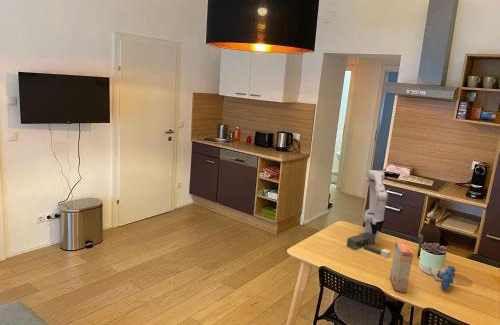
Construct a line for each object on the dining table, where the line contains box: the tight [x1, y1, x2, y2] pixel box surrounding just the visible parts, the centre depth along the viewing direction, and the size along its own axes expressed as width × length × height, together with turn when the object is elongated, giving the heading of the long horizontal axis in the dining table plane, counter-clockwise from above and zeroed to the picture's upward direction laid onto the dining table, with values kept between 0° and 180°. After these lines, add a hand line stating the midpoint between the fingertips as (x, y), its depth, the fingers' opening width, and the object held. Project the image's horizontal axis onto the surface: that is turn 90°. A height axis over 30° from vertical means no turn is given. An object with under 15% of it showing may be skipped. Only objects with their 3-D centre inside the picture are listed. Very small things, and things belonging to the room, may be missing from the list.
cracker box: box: [389, 239, 414, 293], centre depth 187 cm, size 14×6×21 cm, turn 168°
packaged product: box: [432, 262, 457, 285], centre depth 203 cm, size 18×5×10 cm
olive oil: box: [417, 216, 441, 259], centre depth 220 cm, size 11×11×25 cm
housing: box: [346, 232, 377, 251], centre depth 234 cm, size 20×6×5 cm, turn 128°
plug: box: [363, 244, 392, 259], centre depth 224 cm, size 4×15×3 cm, turn 46°
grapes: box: [440, 265, 457, 291], centre depth 189 cm, size 12×7×12 cm, turn 134°
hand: (376, 232), depth 231 cm, fingers open, 7 cm apart
